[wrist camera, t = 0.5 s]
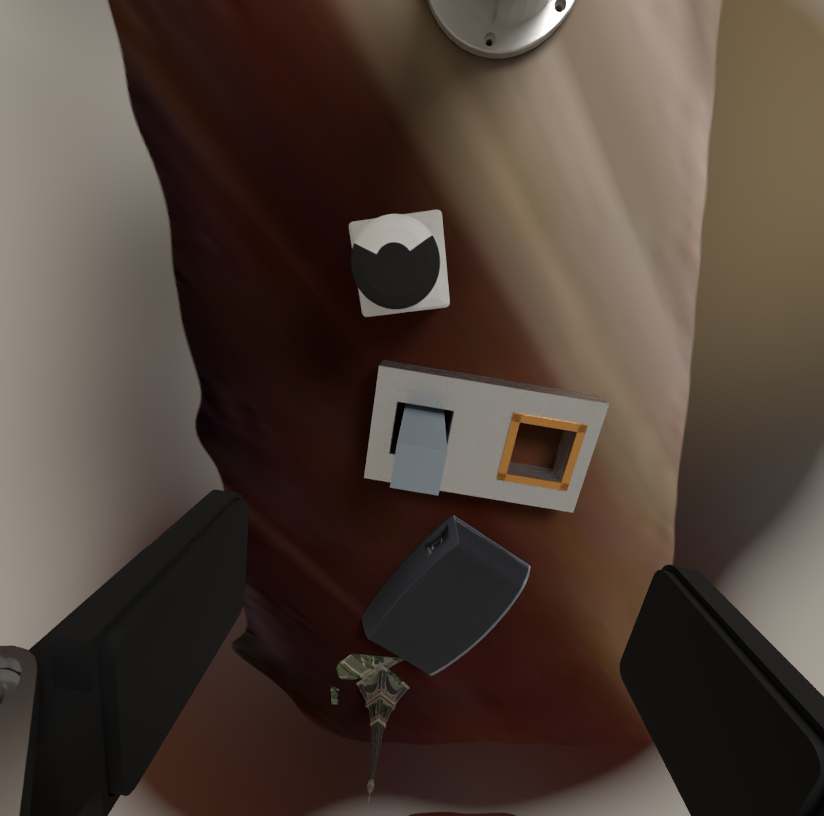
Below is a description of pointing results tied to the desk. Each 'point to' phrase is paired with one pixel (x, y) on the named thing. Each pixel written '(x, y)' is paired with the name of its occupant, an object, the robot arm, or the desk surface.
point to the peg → (420, 450)
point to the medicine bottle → (400, 263)
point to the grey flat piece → (489, 433)
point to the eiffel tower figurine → (373, 694)
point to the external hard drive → (445, 597)
